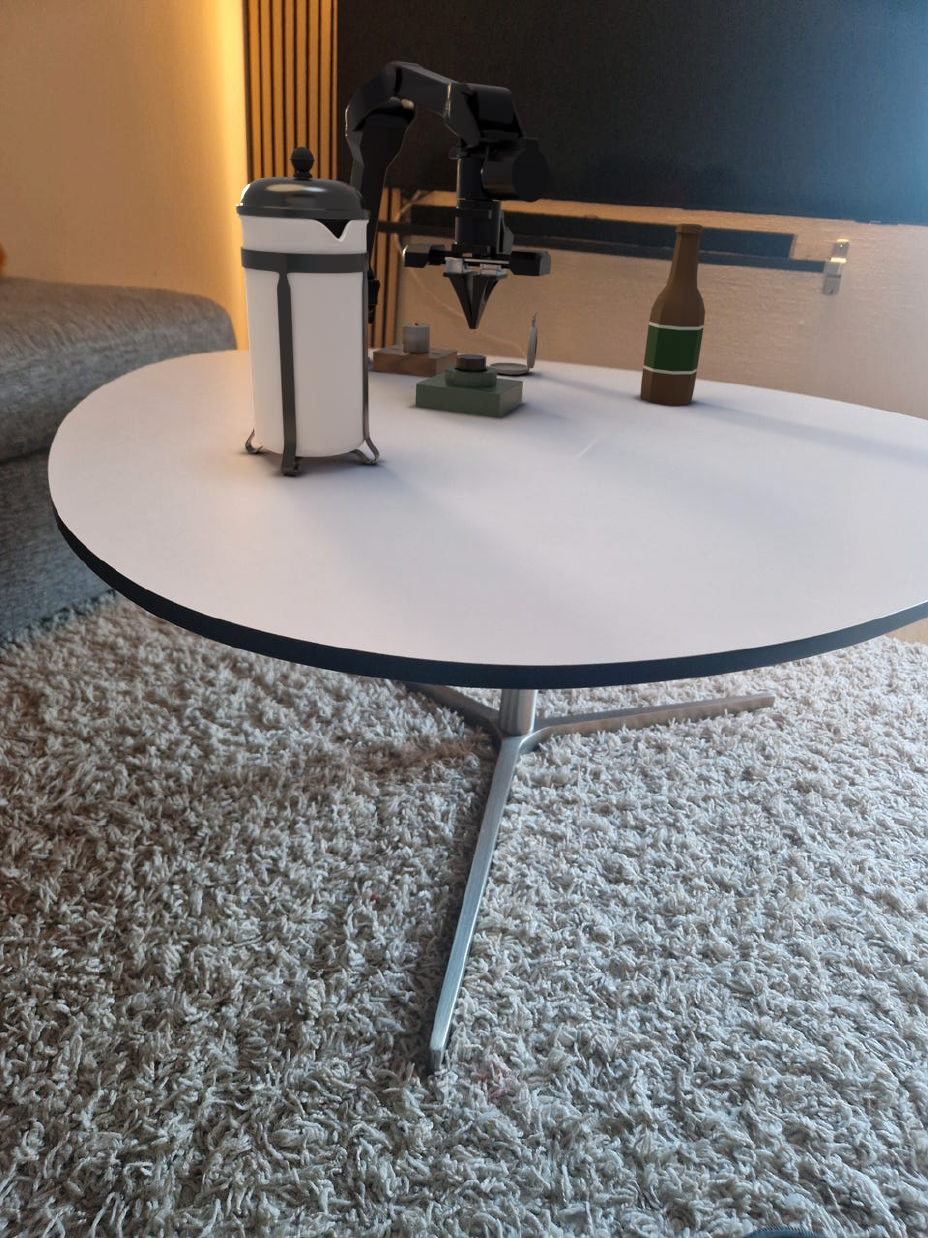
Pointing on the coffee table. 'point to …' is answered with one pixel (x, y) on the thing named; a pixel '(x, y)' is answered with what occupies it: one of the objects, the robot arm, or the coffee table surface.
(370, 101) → the robot arm
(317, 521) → the coffee table surface
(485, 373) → the button base
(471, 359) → the push button
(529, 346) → the pocket watch
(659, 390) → the beer bottle
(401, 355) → the dial panel
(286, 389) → the coffee press
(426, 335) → the dial
